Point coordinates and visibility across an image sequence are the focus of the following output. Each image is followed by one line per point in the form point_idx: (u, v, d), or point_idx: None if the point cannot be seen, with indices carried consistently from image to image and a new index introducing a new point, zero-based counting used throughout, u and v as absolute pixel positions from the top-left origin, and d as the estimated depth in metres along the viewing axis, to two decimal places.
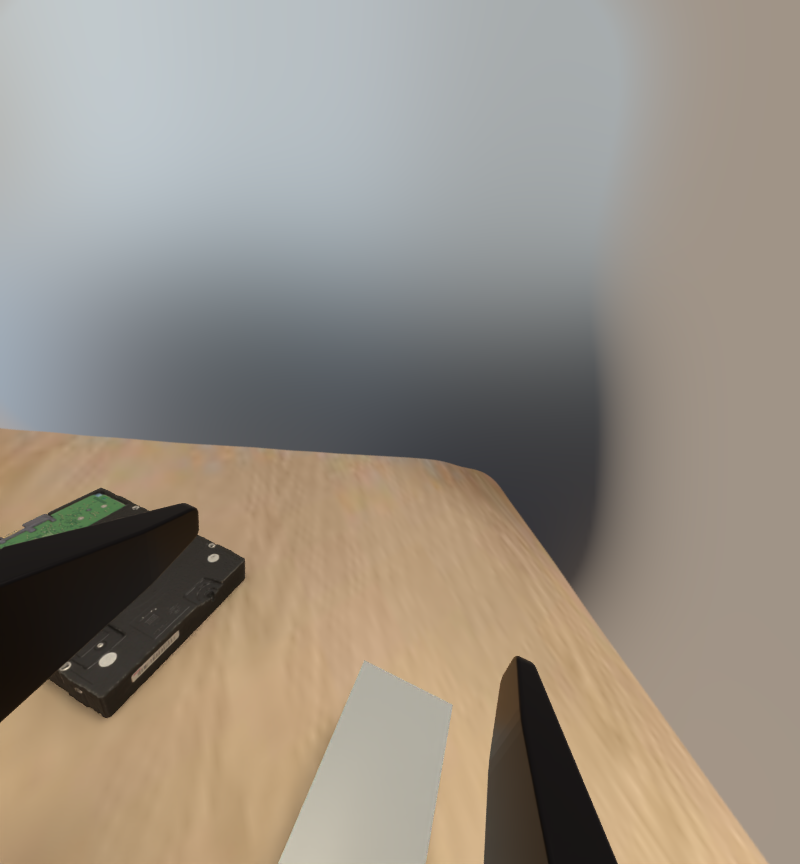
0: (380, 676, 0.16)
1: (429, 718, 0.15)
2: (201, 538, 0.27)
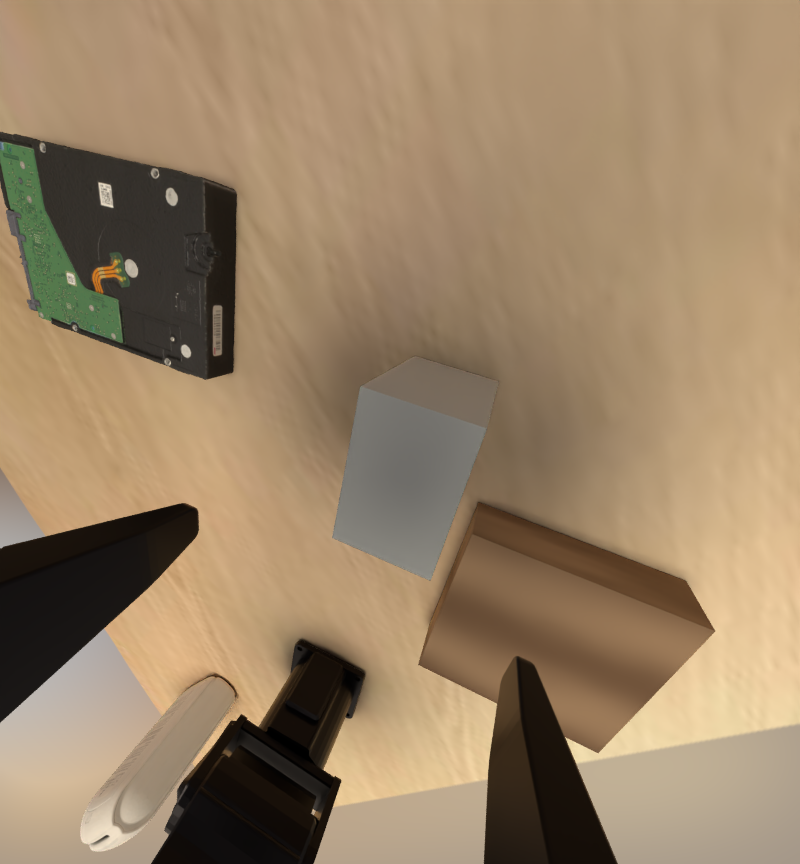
0: (384, 403, 0.12)
1: (451, 445, 0.12)
2: (136, 166, 0.17)
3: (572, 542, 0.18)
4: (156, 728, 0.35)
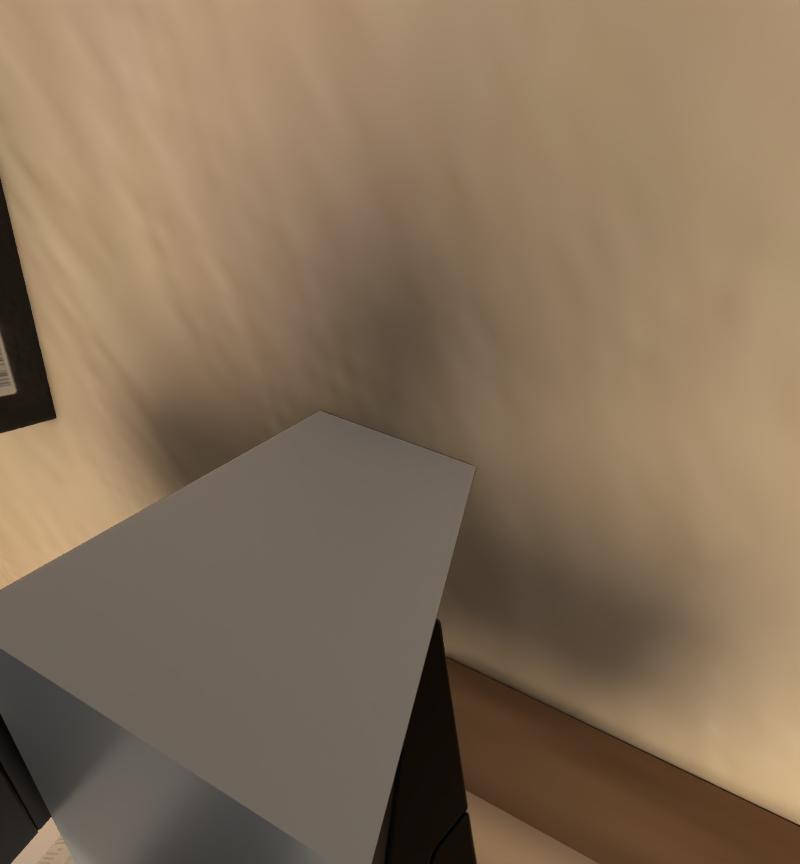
0: (30, 683, 0.03)
1: (256, 861, 0.03)
2: None
3: (614, 751, 0.10)
4: None
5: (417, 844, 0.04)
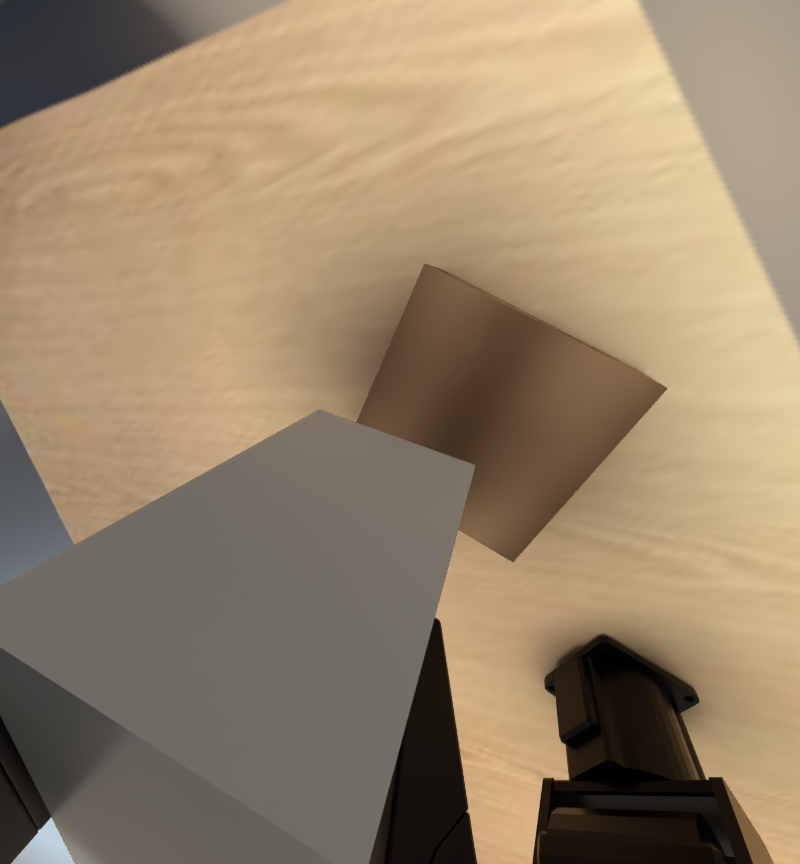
0: (28, 680, 0.03)
1: (254, 859, 0.03)
2: None
3: None
4: None
5: (417, 844, 0.04)
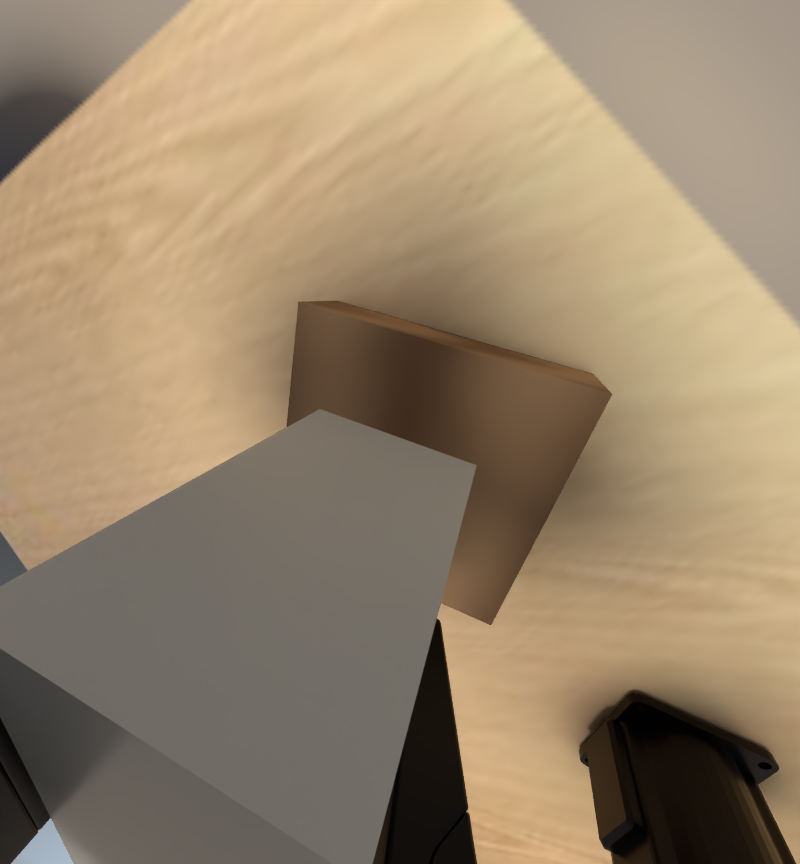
0: (28, 682, 0.03)
1: (256, 862, 0.03)
2: None
3: None
4: None
5: (417, 844, 0.04)
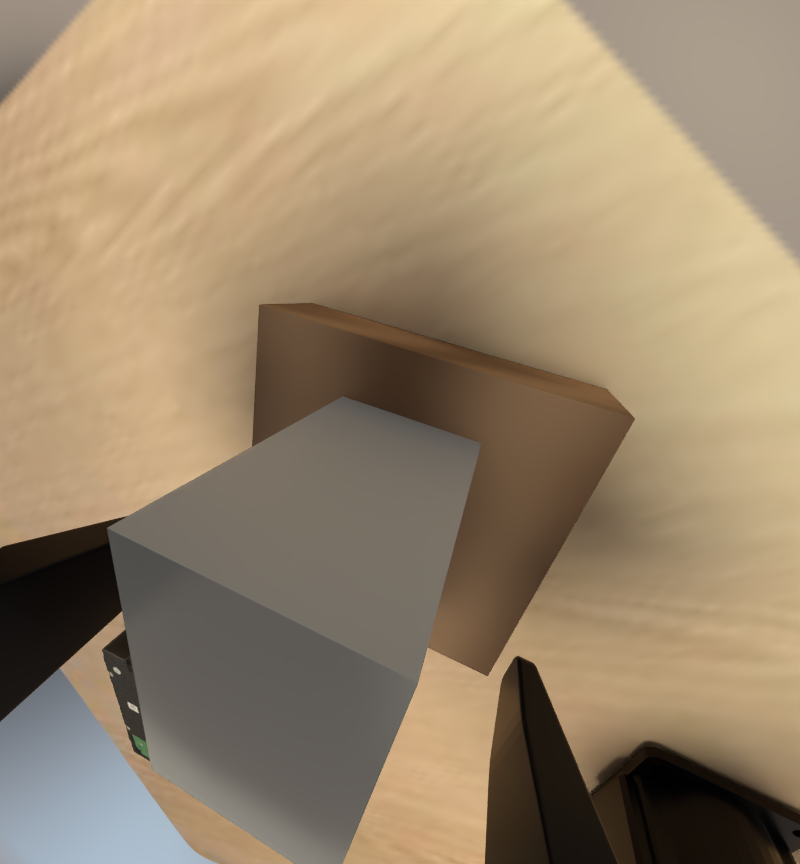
0: (166, 574, 0.05)
1: (334, 693, 0.04)
2: (112, 682, 0.28)
3: None
4: None
5: None
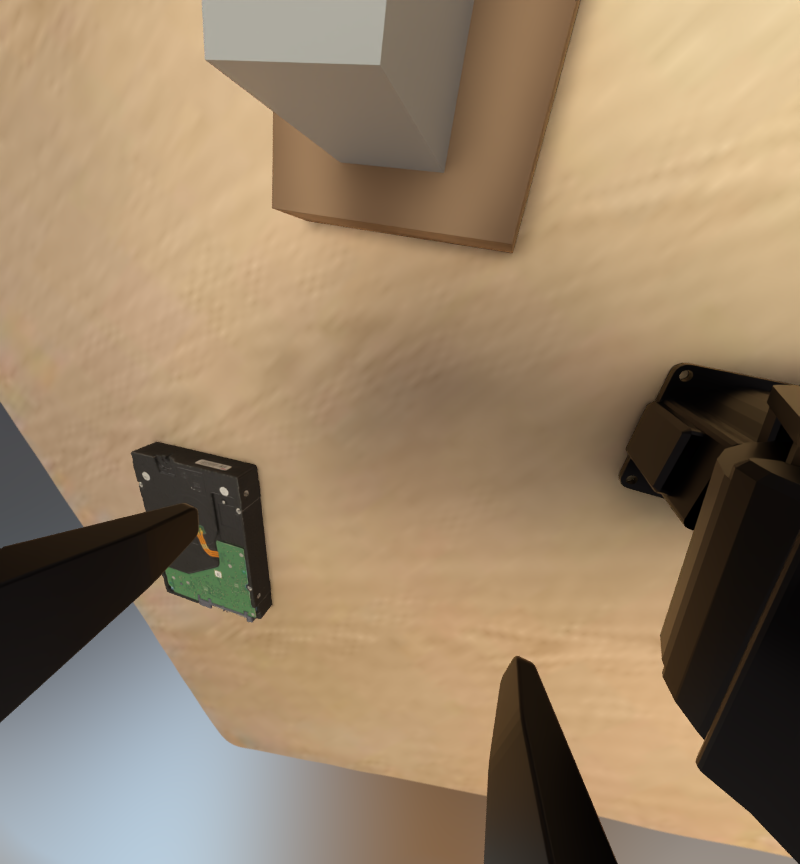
0: None
1: None
2: (142, 496, 0.28)
3: None
4: None
5: None
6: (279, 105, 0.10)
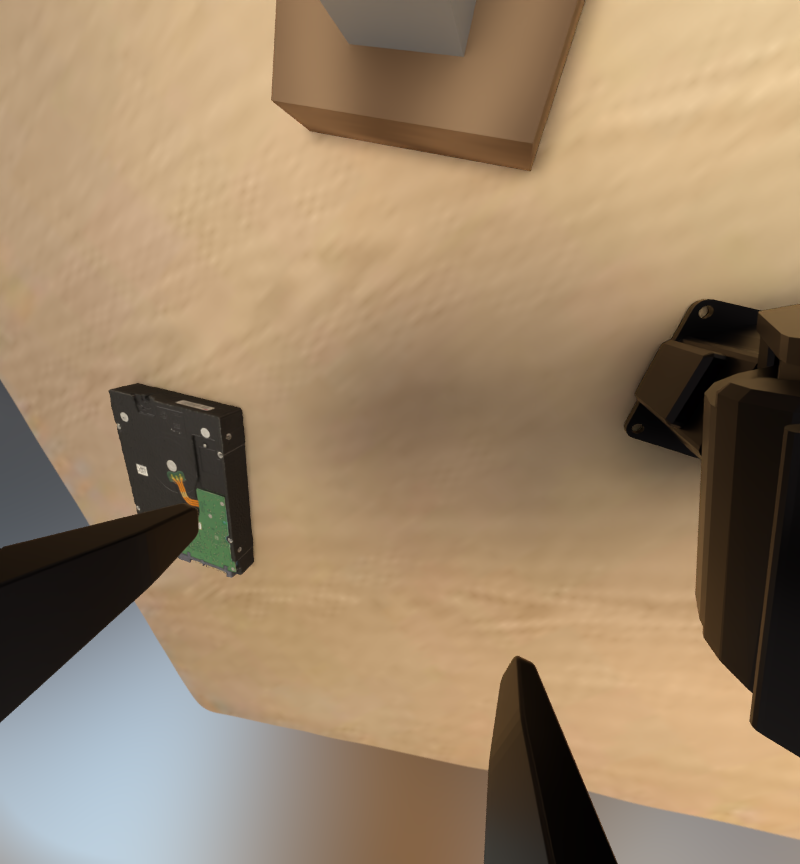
0: None
1: None
2: (120, 439, 0.27)
3: None
4: None
5: None
6: None
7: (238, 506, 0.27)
